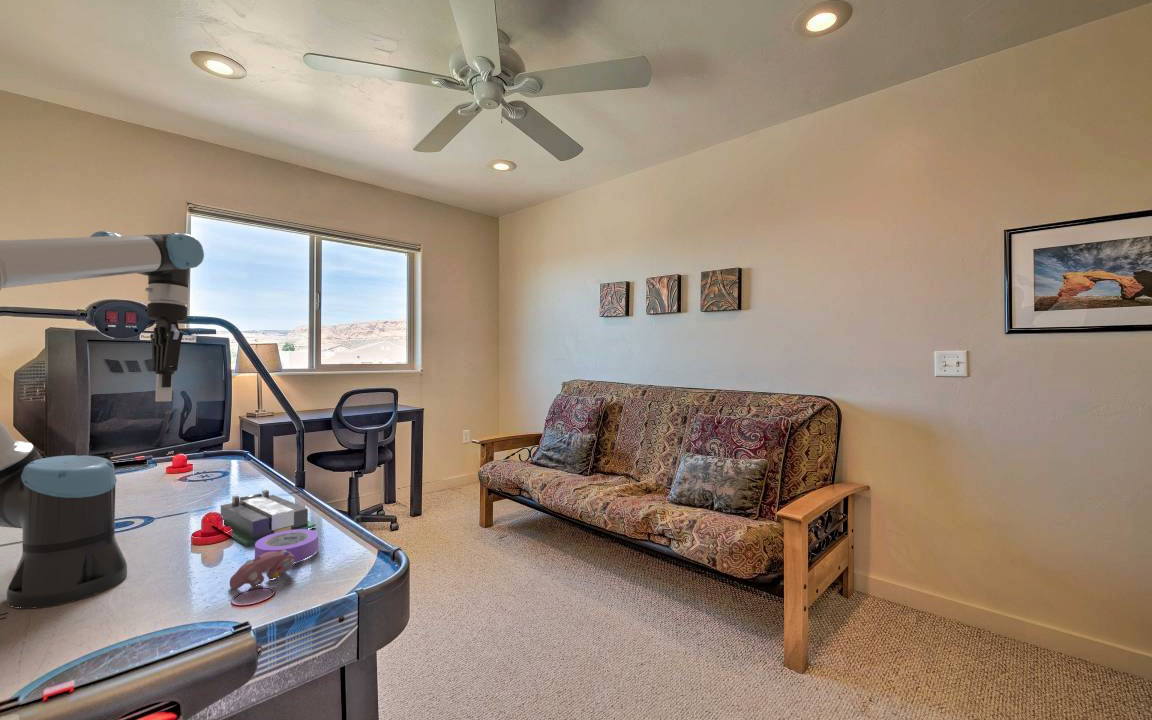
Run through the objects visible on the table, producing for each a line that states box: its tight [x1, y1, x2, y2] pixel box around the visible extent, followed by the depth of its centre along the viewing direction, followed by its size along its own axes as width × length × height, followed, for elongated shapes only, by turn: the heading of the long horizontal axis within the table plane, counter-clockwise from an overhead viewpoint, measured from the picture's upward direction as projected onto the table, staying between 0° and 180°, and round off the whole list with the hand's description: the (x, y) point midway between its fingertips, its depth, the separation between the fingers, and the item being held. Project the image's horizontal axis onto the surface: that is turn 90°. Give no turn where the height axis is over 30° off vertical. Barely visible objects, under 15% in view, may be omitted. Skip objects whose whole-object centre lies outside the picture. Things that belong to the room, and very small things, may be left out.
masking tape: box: [254, 529, 319, 562], centre depth 104 cm, size 12×12×4 cm
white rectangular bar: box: [239, 493, 294, 530], centre depth 120 cm, size 20×5×4 cm, turn 53°
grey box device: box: [220, 489, 317, 547], centre depth 121 cm, size 22×15×7 cm
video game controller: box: [229, 549, 295, 590], centre depth 91 cm, size 10×5×7 cm, turn 150°
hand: (163, 401), depth 116 cm, fingers closed
